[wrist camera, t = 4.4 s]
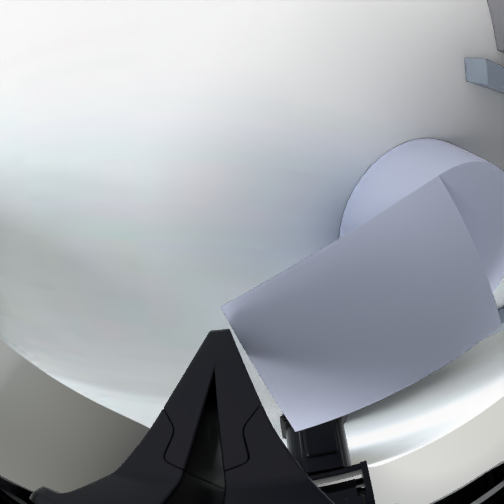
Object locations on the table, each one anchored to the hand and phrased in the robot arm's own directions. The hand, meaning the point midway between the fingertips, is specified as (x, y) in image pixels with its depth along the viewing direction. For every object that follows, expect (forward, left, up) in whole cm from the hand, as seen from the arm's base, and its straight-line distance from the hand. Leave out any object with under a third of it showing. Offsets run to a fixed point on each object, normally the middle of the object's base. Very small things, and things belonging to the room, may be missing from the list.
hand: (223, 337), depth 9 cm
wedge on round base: (0, -8, -4) cm, 9 cm away
